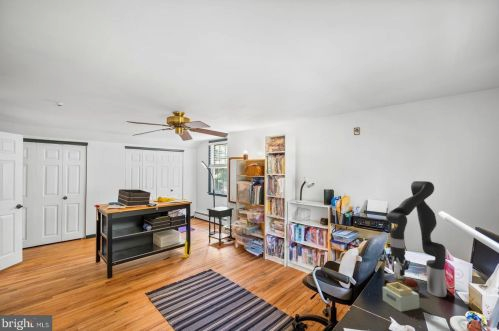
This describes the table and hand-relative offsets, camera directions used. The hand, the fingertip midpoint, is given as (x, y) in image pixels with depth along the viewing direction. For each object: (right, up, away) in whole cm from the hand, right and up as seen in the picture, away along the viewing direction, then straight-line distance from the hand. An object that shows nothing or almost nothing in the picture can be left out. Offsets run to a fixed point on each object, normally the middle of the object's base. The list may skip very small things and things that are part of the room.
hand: (398, 273), depth 131 cm
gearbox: (0, -18, +1) cm, 18 cm away
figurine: (+12, -19, +15) cm, 27 cm away
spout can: (0, -2, 0) cm, 2 cm away
